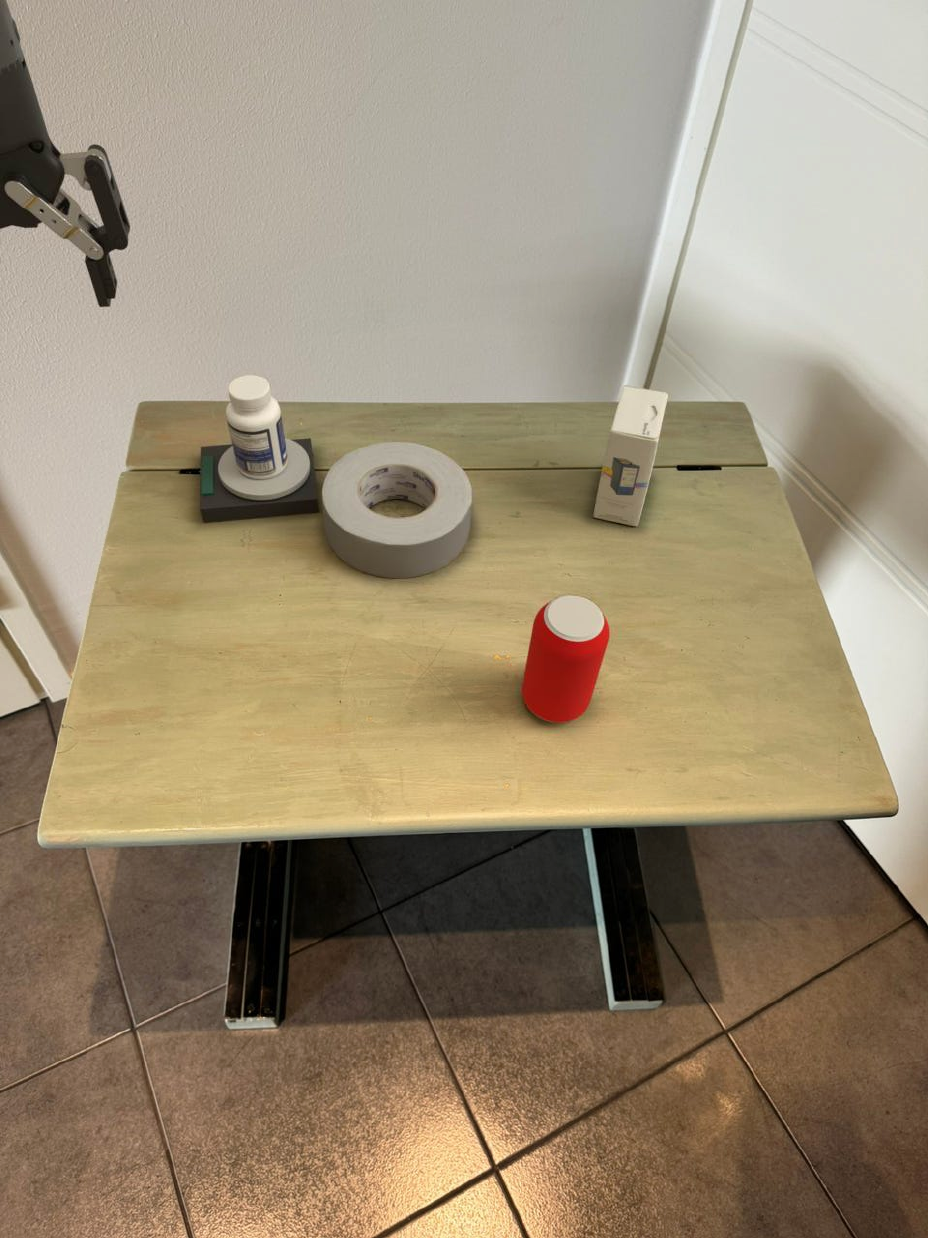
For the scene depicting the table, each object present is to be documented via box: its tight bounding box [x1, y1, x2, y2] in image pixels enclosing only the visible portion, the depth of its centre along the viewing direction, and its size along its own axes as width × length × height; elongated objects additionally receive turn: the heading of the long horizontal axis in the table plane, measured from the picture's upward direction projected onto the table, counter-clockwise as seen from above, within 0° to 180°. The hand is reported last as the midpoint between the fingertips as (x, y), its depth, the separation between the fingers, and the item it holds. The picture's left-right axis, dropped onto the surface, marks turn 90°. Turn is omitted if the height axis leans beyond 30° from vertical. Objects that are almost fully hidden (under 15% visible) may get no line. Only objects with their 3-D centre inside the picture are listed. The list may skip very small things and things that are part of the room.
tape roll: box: [321, 441, 473, 579], centre depth 86 cm, size 15×15×5 cm
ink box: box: [593, 384, 669, 527], centre depth 88 cm, size 9×5×12 cm, turn 164°
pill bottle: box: [225, 374, 288, 479], centre depth 85 cm, size 5×5×10 cm
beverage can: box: [521, 594, 611, 723], centre depth 71 cm, size 6×6×12 cm
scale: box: [199, 437, 320, 524], centre depth 90 cm, size 12×10×3 cm
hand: (45, 304), depth 61 cm, fingers open, 8 cm apart
